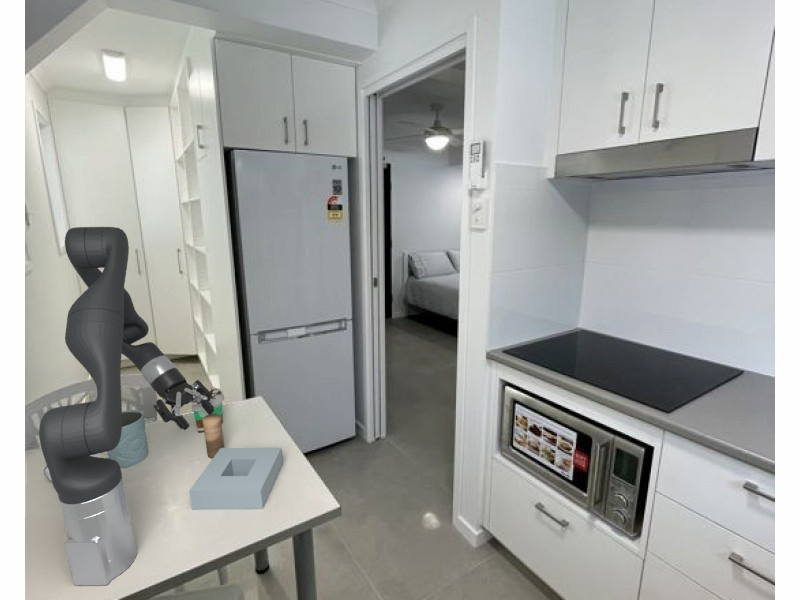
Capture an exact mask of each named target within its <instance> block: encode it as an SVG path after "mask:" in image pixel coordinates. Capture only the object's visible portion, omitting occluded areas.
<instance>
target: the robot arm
mask: <svg viewBox="0 0 800 600" xmlns="http://www.w3.org/2000/svg"><path fill="white" fill-rule="evenodd" d="M64 249H65V252H66V255H67V259H68V260H69V262H70V263H71V265H72V266H73V268H74V270H75V271H76V272H77V274H78V275H79V277H80V279H81V280H82V282H83V283H84V284H85V286H86V287H87V289H86V290H84V291H83V292H82V294H80V295H79V297H78V298H77V299H76V300H75V301H74V302H73V303H72V305H71V306H70V308H69V310H68V313H67V316H66V327H65V334H64V335H65V337H64V341H65V345H66V346H67V349H68V350H69V352H70V353H71V355H72V356H73V357H74V359H76V361H78V363H79V364H80V365H82V367H83V368H84V369H85V370H86V371H87V373H88V374H89V375H90V377H91V378H92V380H93V382H94V384H95V386H96V394H97V396H96V399H95V400H94V401H87V402H81V403H75V404H68V405H63V406H59V407H58V406H57V407H53V408H51V409H49V410H47V411H46V412H45V413H44V414H43V416H42V417H41V420H40V422H39V429H38V437H39V443H40V448H41V451H42V455H43V458H44V460H45V463H46V466H47V467H48V470H49V473H50V476H51V479H52V481H51V483H52V486H53V488H54V490H55V492H56V493H57V496H58V500H59V503H60V504H59V505H60V508H61V513H62V517H63V521H64V526H65V530H66V533H67V538H66V539H65V540H64V541H63V545H64V549H65V552H66V553H65V554H66V556H67V560H68V565H69V569H70V573H71V577H72V581H73V585H74V586H108V584H110V583H111V581H112V580H114V579H115V578H117V577H118V576H120V575H121V574H122V573H125V571H126V570H127V569H129V567H130V566H131V565H132V564H133V562H134V561H135V560H136V557H137V554H138V552H137V551H138V550H137V545H136V541H135V535H134V531H133V526H132V519H131V516H130V509H129V505H128V499H127V495H126V490H125V484H124V480H123V479H124V478H123V475H122V474H123V473H122V468H120V465H119V464H118V462H116V461H115V460H112V459H109V457H98V456H93V455H97V454H99V455H100V454H103V453H106V452H107V453H108V451H111V450H113V449H115V448H116V447H117V445H118V444H119V441H120V438H121V432H122V410H123V407H122V406H123V405H122V383H121V382H122V381H121V379H122V377H121V368H122V367H121V366H122V356H125V358H127V359H129V360H130V361H131V362H132V363H133V365H134V366H135V368H137V370H139V372H140V373H141V374H142V376H143V378H144V379H145V380H146V382H147V383H148V384H149V385H150V386H151V388H152V389H153V391H154V392H155V393H156V394H157V395H158V396H159V397H160V398H162V399H159V398H158V399H157V400H156V401H155V403H154V404H153V405H152V406H153V408H154V410H155V411H156V412H157V413H158V415H159V417H160V418H161V420H162V421H163V422H165V423H168V422H170V421H173V422H174V423H175V425H177V426H178V428H179V429H181V430H184V431H186V430H188V429H189V428H190V424H189V422H188V421H187V420H186V418H185V417H184V416H183V415H182V414H181V408H183V407H184V406H185V405H188V404H190V403H192V404H197V403H199V404H202V405H201V406H202V407H203V408H204V410H205V411H206V412H207V413H208V414H212V413H213V412H214V407H213V406H212V405H211V403H210V402H209V401H208V398H209V396H210V395H211V393H210V391H209V390H208V388H207V387H206V386H205V384H203V383H202V382H201V381H200V380H199V379H196V380H195V381H194V382H193V383H191V384H189V383H188V381H187V378H186V377H185V376H184V375H183V374H182V373H181V371H180V370H179V369H178V368H177V367H176V365H174V363H173V362H172V361H171V360H170V359H169V358H168V357H167V356H166V355H165V354H164V353H163V352H162V351H161V349H160V348H159V347H158V345H156V343H154V342H151V341H150V342H149V341H148V342H144V343H141V344H136V345H134V343H137V342H138V341H140V340H141V339H144V338H145V337H146V336H147V335H148V334H149V329H150V328H149V325H148V324H147V322H146V321H145V320H144V319H143V318H142V317H141V316H140V315H139V314H138V312H137V311H136V308H135V306H134V303H133V299H132V297H131V295H130V293H129V291H127V289H126V288H125V285H126V284H125V282H126V275H127V270H128V263H129V251H130V247H129V239H128V235H127V234H126V232H125V231H124V230H123V229H121V228H120V227H115V226H78V227H77V226H76V227H72V228H71V227H70V228H69V229H68V230H67V231H66V234H65V236H64ZM102 268H103V271H101V270H100V269H102ZM167 405H168V406H170V410H169V408H168V406H167Z"/></svg>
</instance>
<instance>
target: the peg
mask: <svg viewBox="0 0 800 600" xmlns="http://www.w3.org/2000/svg"><path fill="white" fill-rule="evenodd" d="M222 425H223V423H222V424H221V416H220V414H209V415H207V416H205V417H204V418H203V426H204V439H205V447H206V454H207V457H208V458H209V459H213V458H214V456H215V455H216V454H217V452H218V451H219V450H220V448H225V442H224V434H223V426H222Z"/></svg>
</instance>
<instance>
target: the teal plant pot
mask: <svg viewBox="0 0 800 600" xmlns="http://www.w3.org/2000/svg"><path fill="white" fill-rule="evenodd" d="M145 421H146V420H145V414H144V412H143V411H142V410H139V409H130V410H129V409H127V410H123V411H122V432H121V438H120V441H119V444H118V445H117V447H116V448H115V449H113V450H111V451H107V458H109V459H112V460H115V461H116V462H118V464H119V465H120V468H121V469H124V468H129V467H132V466H134V465H137V464H139V463H142V462H143V461H144V460H145V459H147V457H148V455H149V447H148V446H149V445H148V442H147V441H148V440H147V433H146V424H145V423H146V422H145Z"/></svg>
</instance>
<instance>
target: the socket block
mask: <svg viewBox="0 0 800 600" xmlns="http://www.w3.org/2000/svg"><path fill="white" fill-rule="evenodd" d="M283 461H284V460H283V449H282V447H224V448H220V450H219V451H218V452H217V454H216V455H215V456H214V458H211V461H210V462H209V463H208V465H206V467H205V469H204V470H203V471H202V473H201V474H200V475H199V477H198V478H197V479H196V481H195V482H194V484H193V485H192V486H191V488H190V489H189V490H188V491H189V497H190V502H191V503H190V504H191V510H263V509H264V507H265V506H266V505H265V504H266V502H267V500H268V498H269V496H270V494H271V492H272V491H273V487H274V485H275V483H276V480H277V478H278V477H279V475H280V472H281V469H282V467H283V465H284V462H283Z"/></svg>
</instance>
